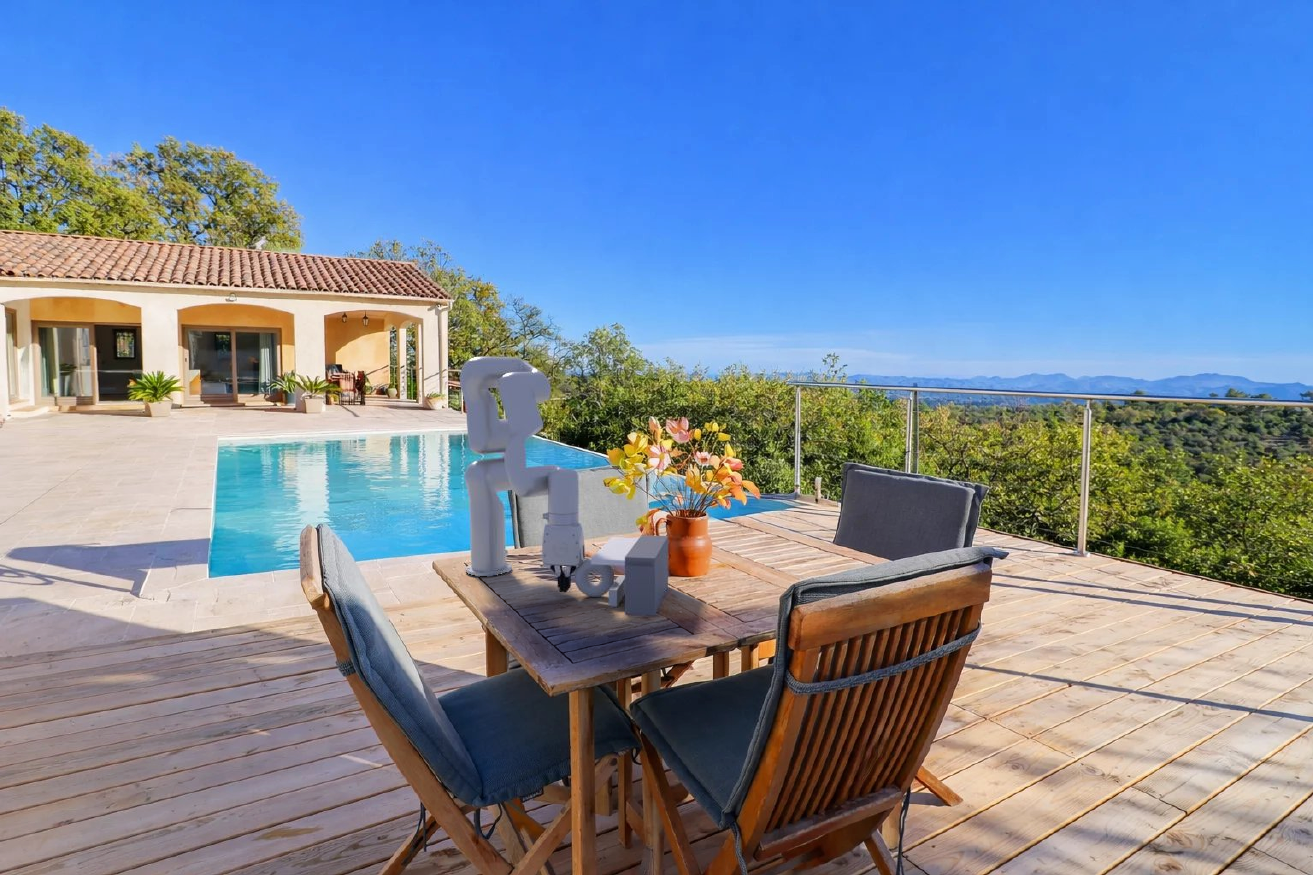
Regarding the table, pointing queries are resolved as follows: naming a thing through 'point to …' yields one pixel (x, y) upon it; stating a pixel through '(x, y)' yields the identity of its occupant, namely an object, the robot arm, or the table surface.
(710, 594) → the table surface
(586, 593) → the donut
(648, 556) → the ledge cabinet
